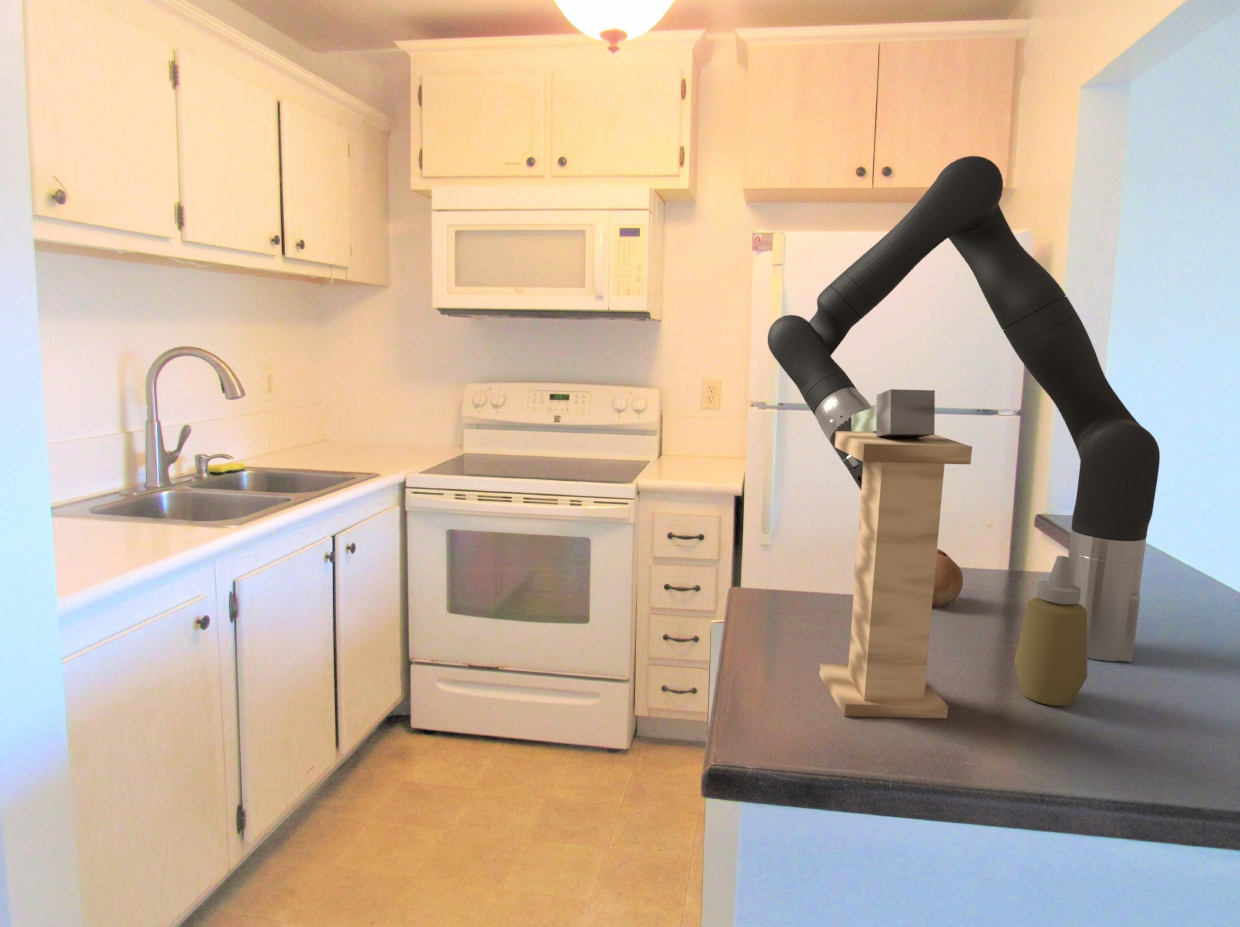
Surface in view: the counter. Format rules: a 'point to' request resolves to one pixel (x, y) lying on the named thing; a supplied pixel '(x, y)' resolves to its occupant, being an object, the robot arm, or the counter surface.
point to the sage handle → (899, 414)
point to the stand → (893, 576)
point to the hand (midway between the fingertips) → (915, 519)
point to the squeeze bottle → (1053, 641)
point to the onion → (946, 580)
